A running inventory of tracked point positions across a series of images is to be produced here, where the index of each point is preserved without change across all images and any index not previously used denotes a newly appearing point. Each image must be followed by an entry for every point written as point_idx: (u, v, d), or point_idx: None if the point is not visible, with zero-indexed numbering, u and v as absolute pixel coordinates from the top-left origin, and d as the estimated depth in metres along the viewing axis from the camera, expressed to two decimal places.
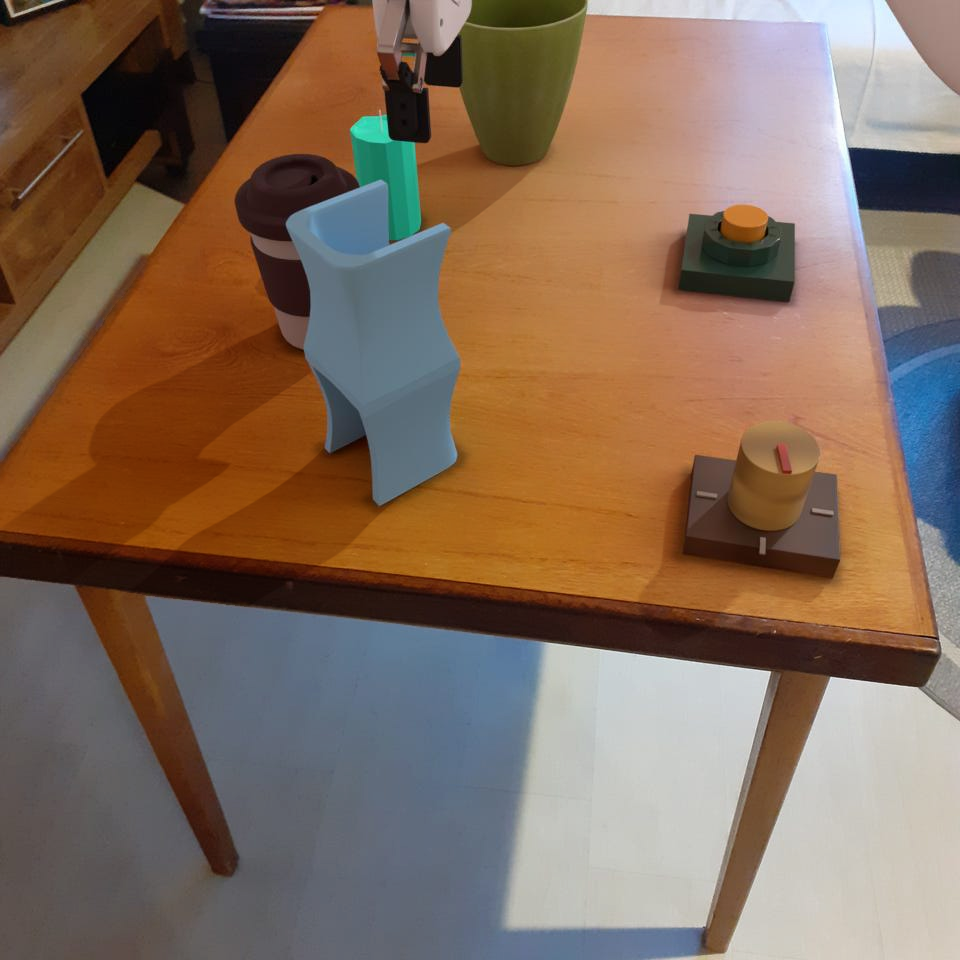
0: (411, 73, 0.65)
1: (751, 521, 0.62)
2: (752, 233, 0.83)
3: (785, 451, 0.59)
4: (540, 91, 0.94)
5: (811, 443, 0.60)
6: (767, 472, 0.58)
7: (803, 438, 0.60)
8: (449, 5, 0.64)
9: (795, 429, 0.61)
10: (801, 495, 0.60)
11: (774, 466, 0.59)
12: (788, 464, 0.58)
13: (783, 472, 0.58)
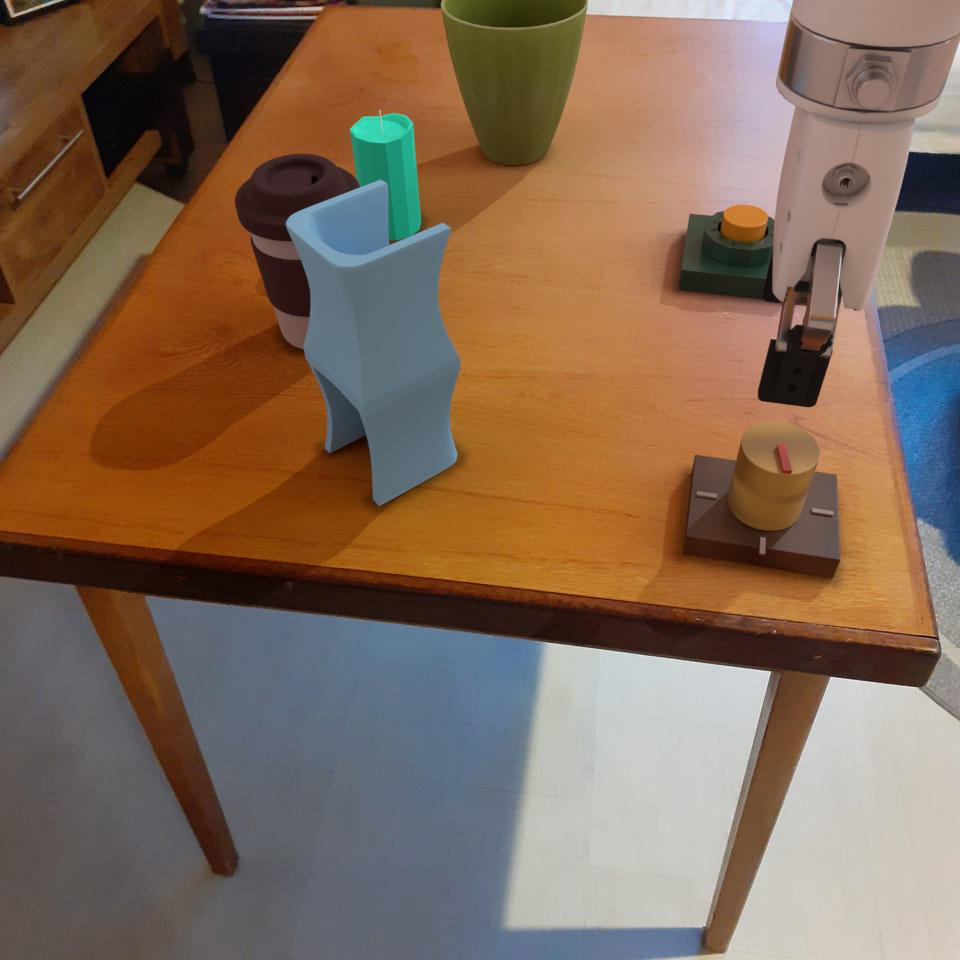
0: None
1: (751, 521, 0.62)
2: (752, 233, 0.83)
3: (785, 451, 0.59)
4: (540, 91, 0.94)
5: (811, 443, 0.60)
6: (767, 472, 0.58)
7: (803, 438, 0.60)
8: None
9: (795, 429, 0.61)
10: (801, 495, 0.60)
11: (774, 466, 0.59)
12: (788, 464, 0.58)
13: (783, 472, 0.58)
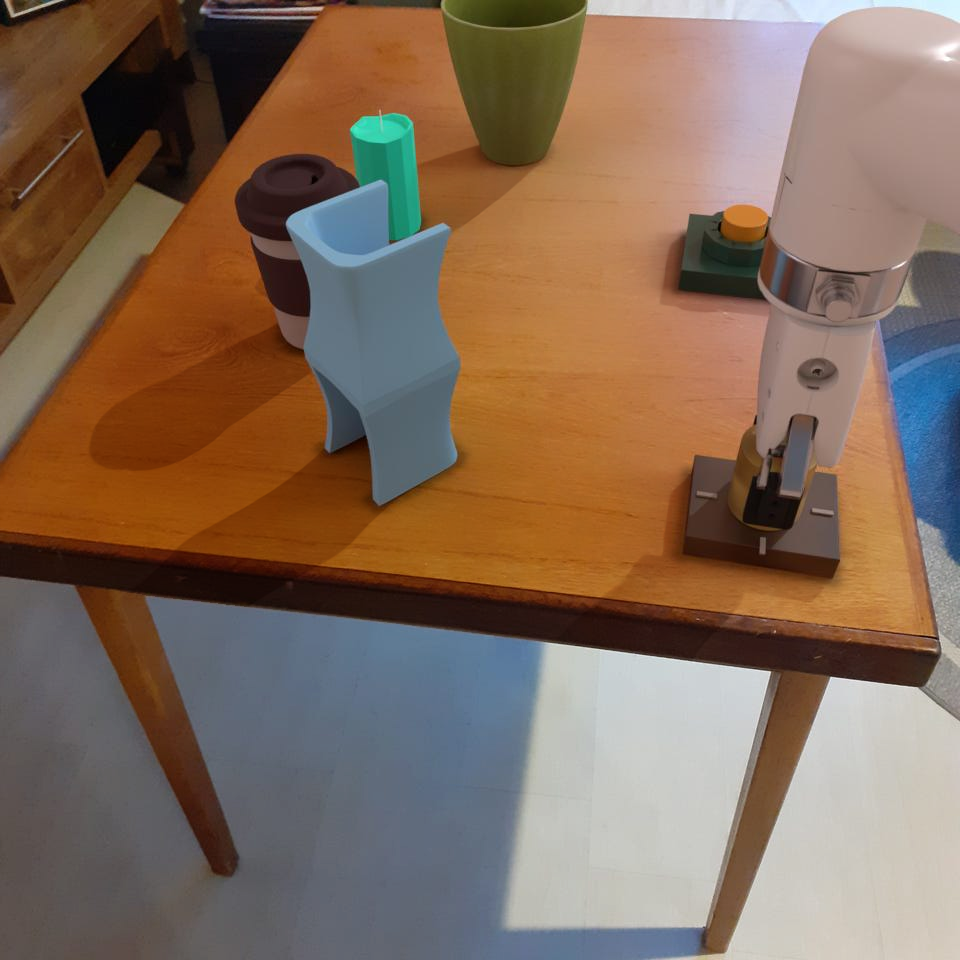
0: None
1: None
2: (752, 233, 0.83)
3: None
4: (540, 91, 0.94)
5: None
6: None
7: None
8: None
9: None
10: None
11: (774, 466, 0.59)
12: None
13: None
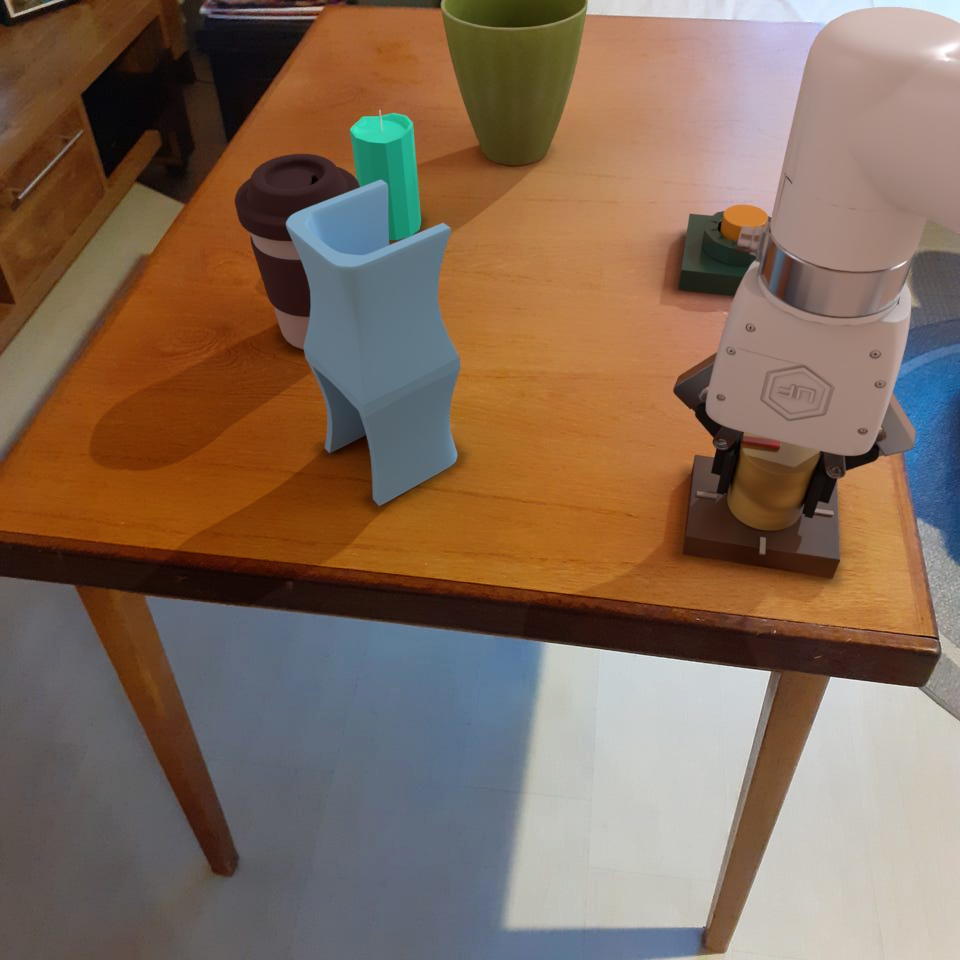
0: (721, 426, 0.60)
1: None
2: None
3: (769, 443, 0.60)
4: (540, 91, 0.94)
5: (786, 470, 0.58)
6: (745, 432, 0.61)
7: (793, 466, 0.59)
8: (752, 400, 0.55)
9: (808, 464, 0.59)
10: (741, 485, 0.61)
11: (751, 436, 0.61)
12: (751, 440, 0.60)
13: (743, 439, 0.60)
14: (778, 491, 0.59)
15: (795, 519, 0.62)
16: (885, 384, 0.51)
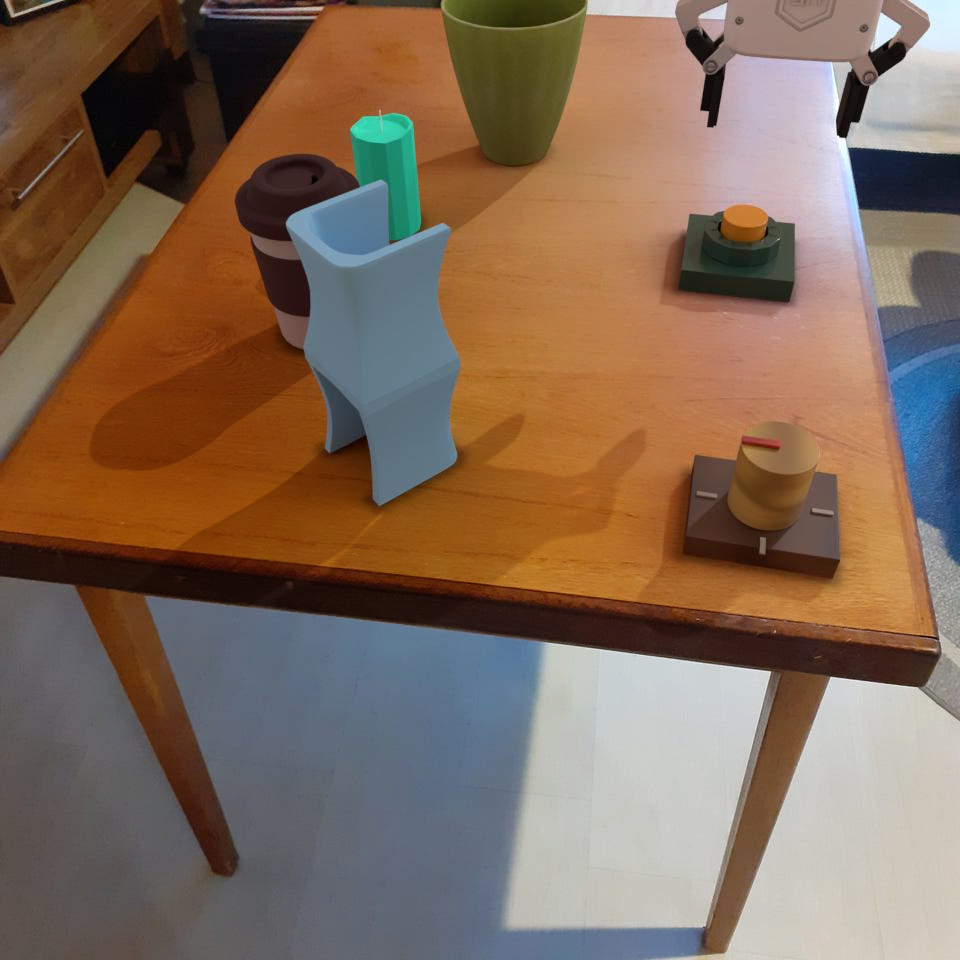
0: (709, 51, 0.67)
1: None
2: (752, 233, 0.83)
3: (769, 443, 0.60)
4: (540, 91, 0.94)
5: (786, 470, 0.58)
6: (745, 432, 0.61)
7: (793, 466, 0.59)
8: (767, 15, 0.63)
9: (808, 464, 0.59)
10: (741, 485, 0.61)
11: (751, 436, 0.61)
12: (751, 440, 0.60)
13: (743, 439, 0.60)
14: (778, 491, 0.59)
15: (795, 519, 0.62)
16: None
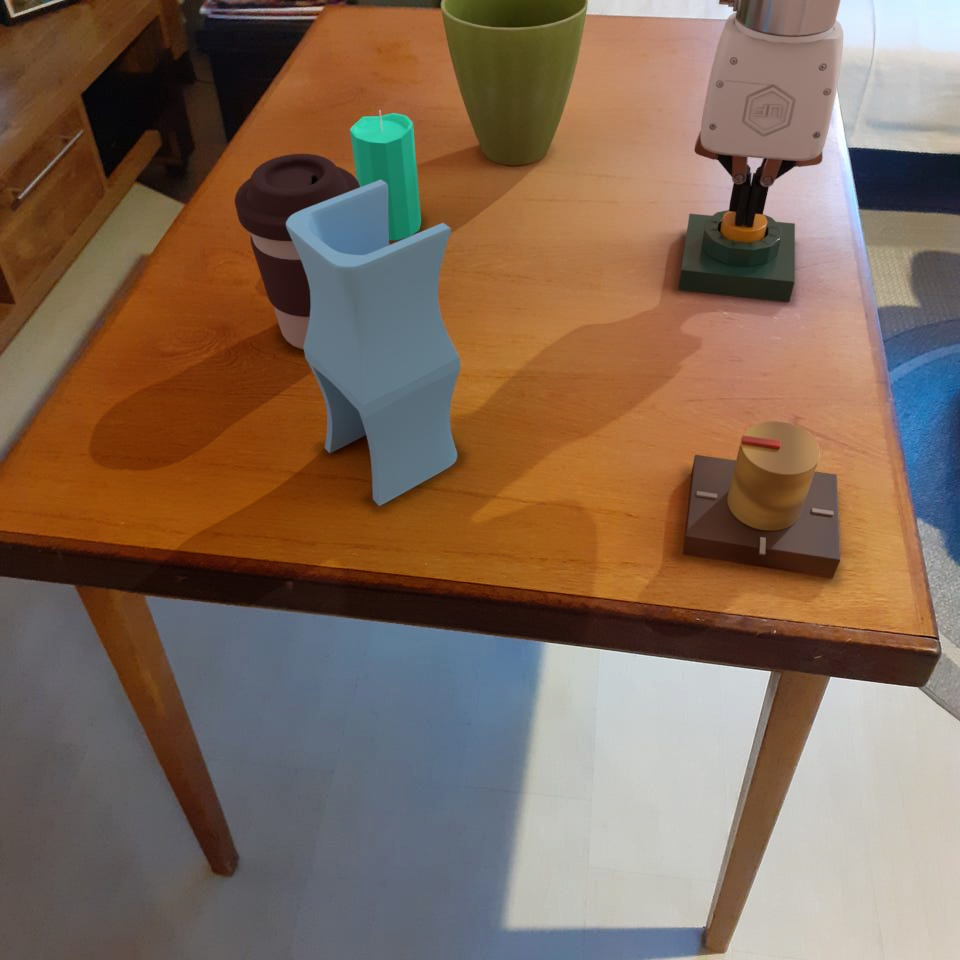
0: None
1: None
2: (751, 237, 0.83)
3: (769, 443, 0.60)
4: (540, 91, 0.94)
5: (786, 470, 0.58)
6: (745, 432, 0.61)
7: (793, 466, 0.59)
8: (736, 123, 0.75)
9: (808, 464, 0.59)
10: (741, 485, 0.61)
11: (751, 436, 0.61)
12: (751, 440, 0.60)
13: (743, 439, 0.60)
14: (778, 491, 0.59)
15: (795, 519, 0.62)
16: (830, 91, 0.72)
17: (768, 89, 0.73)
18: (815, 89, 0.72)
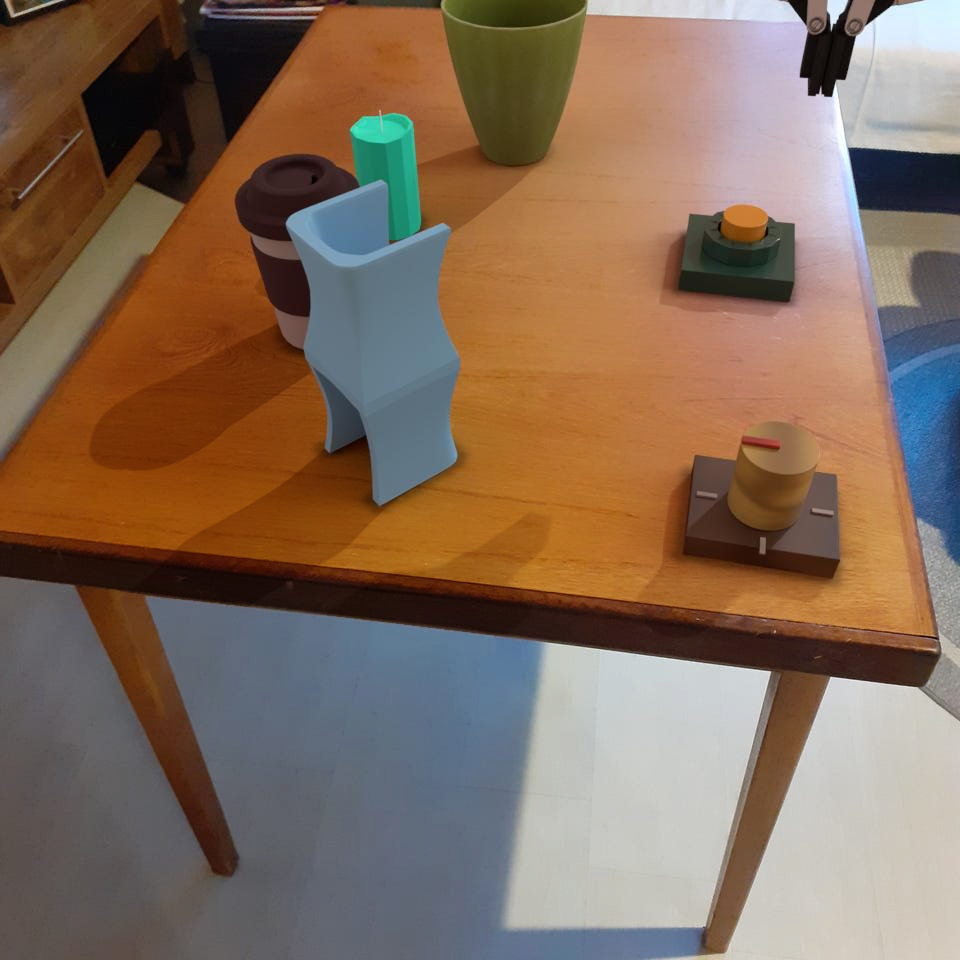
0: None
1: None
2: (752, 233, 0.83)
3: (769, 443, 0.60)
4: (540, 91, 0.94)
5: (786, 470, 0.58)
6: (745, 432, 0.61)
7: (793, 466, 0.59)
8: None
9: (808, 464, 0.59)
10: (741, 485, 0.61)
11: (751, 436, 0.61)
12: (751, 440, 0.60)
13: (743, 439, 0.60)
14: (778, 491, 0.59)
15: (795, 519, 0.62)
16: None
17: None
18: None
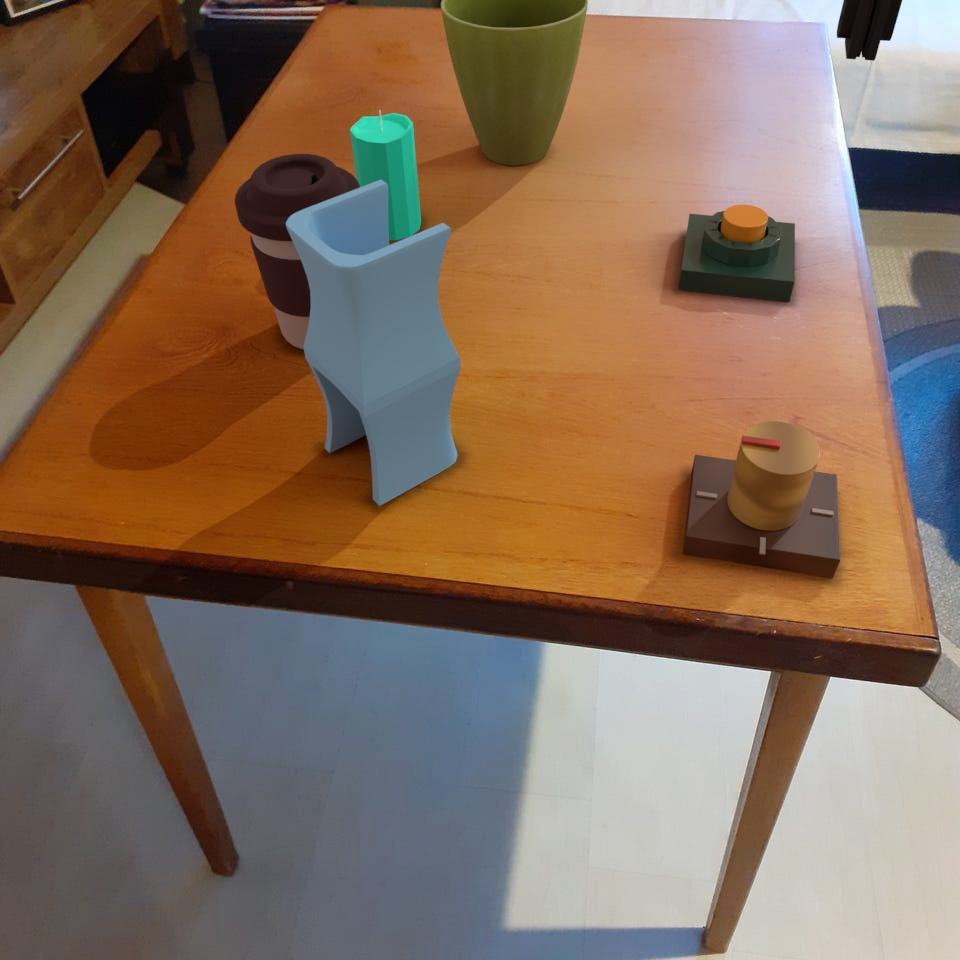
0: None
1: None
2: (752, 233, 0.83)
3: (769, 443, 0.60)
4: (540, 91, 0.94)
5: (786, 470, 0.58)
6: (745, 432, 0.61)
7: (793, 466, 0.59)
8: None
9: (808, 464, 0.59)
10: (741, 485, 0.61)
11: (751, 436, 0.61)
12: (751, 440, 0.60)
13: (743, 439, 0.60)
14: (778, 491, 0.59)
15: (795, 519, 0.62)
16: None
17: None
18: None
